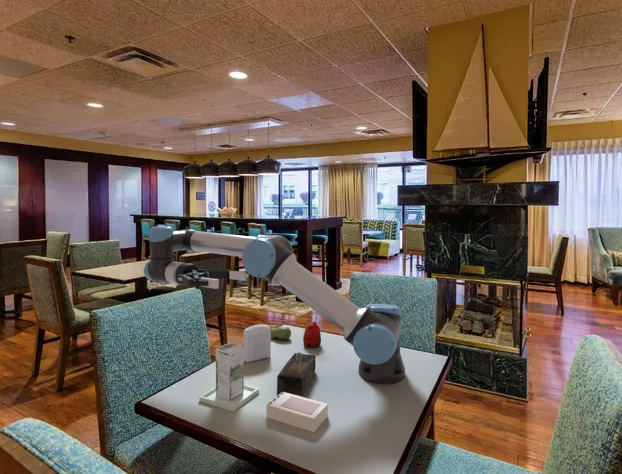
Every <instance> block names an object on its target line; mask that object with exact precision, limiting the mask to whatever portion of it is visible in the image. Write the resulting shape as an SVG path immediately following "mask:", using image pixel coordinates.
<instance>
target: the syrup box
mask: <svg viewBox="0 0 622 474" xmlns="http://www.w3.org/2000/svg"><path fill="white" fill-rule="evenodd" d="M244 362H245V361H244V347H243V345H240V344H238V343H235V342H228V343H225V344H223V345H221V346H218V347H216V348H215V387H216V396H218V397H221V398H223V399H226V400H228V401H231V400H232V399H234V398H236V397H238V396H239V395H241V394H243V392H244V385H245V384H244V381H245V379H244V378H245V377H244V376H245V375H244V373H245V372H244V370H245V369H244V367H245V363H244Z"/></svg>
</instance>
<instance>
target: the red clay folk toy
mask: <svg viewBox="0 0 622 474" xmlns="http://www.w3.org/2000/svg"><path fill="white" fill-rule="evenodd" d="M316 314H319V313H318V312H316ZM314 318H315V321H313V322H311V323H309V324H307V325H306V327H304V333H303V339H302V341H303V345H304V347H305V348H316V347H319V346H321V344H322V338H321V337H322V335H321V334H322V332H321V329H320V326H319V325H318V323H317V319H318V315H316V316H315V317H314Z"/></svg>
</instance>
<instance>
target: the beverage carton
mask: <svg viewBox="0 0 622 474" xmlns="http://www.w3.org/2000/svg"><path fill="white" fill-rule="evenodd" d="M316 359H317V358H316V355H315V354H305V353H302V352H294V353H293V355H292V356H291V357H290V358H289V359H288V360H287V362H286V363H285V365H284V366H283V367H282V369H281V370H280V372H279V373H278V374H277V377H276V379H277V380H276V395H277V396H278V395H279V394H280V393H282V392H286V393H289V394H293V395H297V396H300V397H303V395H304V393H305V392H306V390H307V387H308V386H309V384H310V382H311V380H312V378H313V375H314V374H315V372H316Z"/></svg>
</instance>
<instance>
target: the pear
mask: <svg viewBox="0 0 622 474" xmlns="http://www.w3.org/2000/svg"><path fill="white" fill-rule="evenodd" d="M270 329H271V340H273V339H275V338H277V339H280V340H283V341H287V340H289V339H290V338H291V336H292V331H291V329H290V327H288V326H279V327H274V328H270Z"/></svg>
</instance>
